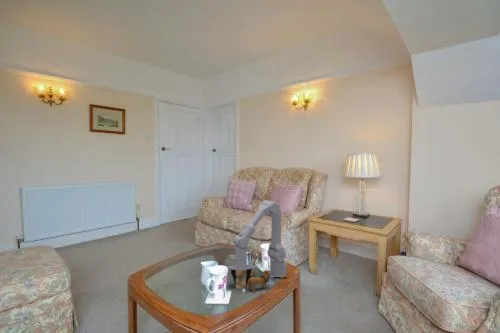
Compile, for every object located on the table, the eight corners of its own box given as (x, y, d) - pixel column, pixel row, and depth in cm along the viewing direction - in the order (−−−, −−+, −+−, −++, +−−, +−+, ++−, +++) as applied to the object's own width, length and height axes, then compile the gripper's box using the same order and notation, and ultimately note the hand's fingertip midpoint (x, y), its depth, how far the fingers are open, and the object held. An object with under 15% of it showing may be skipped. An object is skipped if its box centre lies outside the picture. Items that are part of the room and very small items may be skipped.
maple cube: (246, 284, 141) (246, 275, 141) (245, 288, 136) (245, 279, 136) (237, 284, 142) (237, 274, 142) (236, 288, 137) (235, 279, 137)
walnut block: (254, 273, 155) (254, 268, 154) (253, 281, 145) (253, 275, 144) (237, 273, 155) (237, 267, 155) (235, 281, 145) (235, 275, 145)
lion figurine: (267, 284, 141) (267, 267, 141) (272, 288, 136) (272, 271, 136) (243, 290, 135) (242, 273, 134) (247, 295, 130) (247, 277, 130)
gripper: (254, 255, 143) (254, 279, 143) (227, 255, 142) (227, 280, 143) (254, 260, 136) (255, 286, 136) (227, 261, 135) (227, 286, 136)
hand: (241, 283), depth 139 cm, fingers open, 5 cm apart
